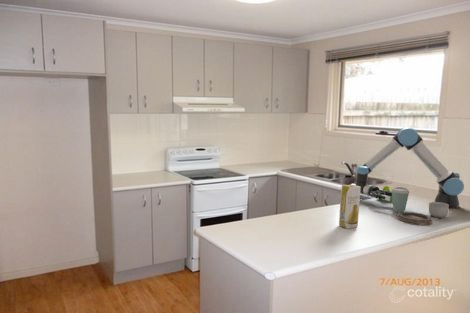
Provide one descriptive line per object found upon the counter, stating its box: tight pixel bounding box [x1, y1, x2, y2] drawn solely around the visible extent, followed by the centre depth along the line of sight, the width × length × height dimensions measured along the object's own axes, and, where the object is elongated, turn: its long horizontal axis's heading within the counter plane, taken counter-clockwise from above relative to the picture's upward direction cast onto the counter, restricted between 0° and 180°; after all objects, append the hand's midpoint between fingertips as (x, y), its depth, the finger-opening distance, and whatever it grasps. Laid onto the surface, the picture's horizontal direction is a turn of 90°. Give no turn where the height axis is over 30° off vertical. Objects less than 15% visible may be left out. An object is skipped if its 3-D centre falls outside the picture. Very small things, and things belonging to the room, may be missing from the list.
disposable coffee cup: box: [390, 186, 410, 213], centre depth 238 cm, size 11×11×15 cm
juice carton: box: [338, 183, 361, 230], centre depth 202 cm, size 9×8×24 cm
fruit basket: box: [378, 185, 393, 203], centre depth 266 cm, size 11×9×11 cm
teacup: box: [428, 201, 450, 219], centre depth 231 cm, size 14×11×8 cm
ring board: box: [396, 211, 433, 226], centre depth 220 cm, size 19×19×2 cm
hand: (397, 198), depth 238 cm, fingers open, 13 cm apart
